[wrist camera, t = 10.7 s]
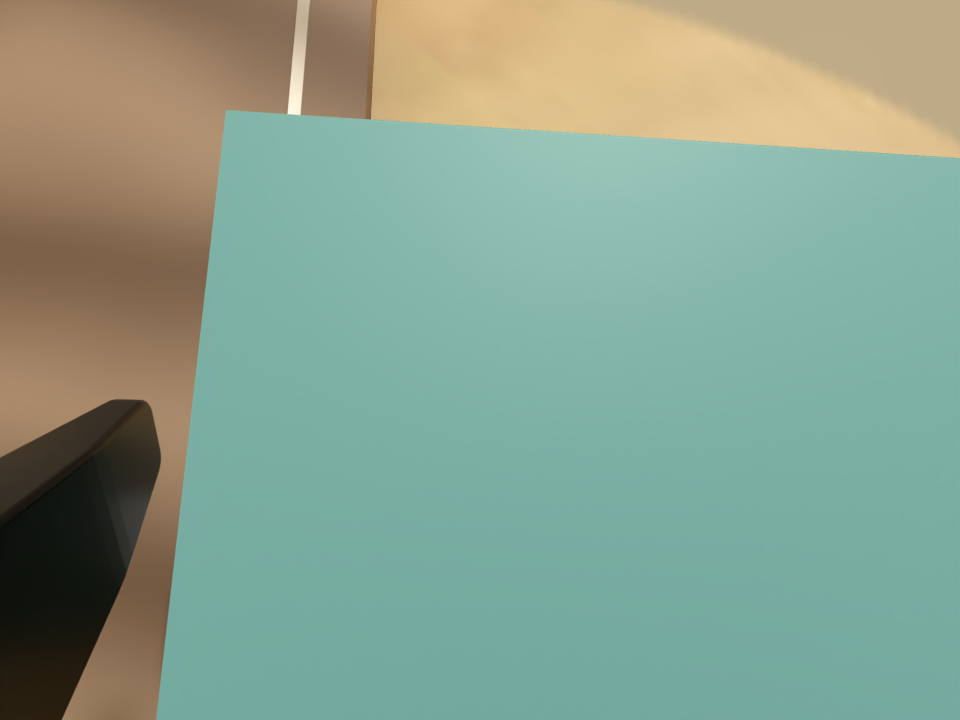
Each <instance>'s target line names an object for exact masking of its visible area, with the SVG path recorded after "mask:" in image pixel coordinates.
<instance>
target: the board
mask: <svg viewBox="0 0 960 720" xmlns="http://www.w3.org/2000/svg"><path fill="white" fill-rule="evenodd" d="M376 5H377V0H0V457H2V456H4V455H6V454H7V453H9V452H11V451H13V450H15V449H17V448H19V447H21V446H23V445H25V444H27V443H29V442H31V441H33V440H35V439H36V438H38V437H40V436H42V435H44V434H46V433H48V432H50V431H52V430H54V429H56V428H58V427H60V426H62V425H63V424H65V423H67V422H69V421H71V420H73V419H75V418H77V417H79V416H81V415H83V414H85V413H87V412H89V411H90V410H92V409H94V408H96V407H98V406H100V405H102V404H104V403H106V402H108V401H110V400H114V399H132V400H144V401H146V402H147V403H149V405H150V407H151V409H152V412H153V417H154V422H155V426H156V431H157V436H158V440H159V445H160V450H161V465H160V470H159V473H158V477H157V480H156V483H155V486H154V490H153V493H152V496H151V499H150V502H149V506H148V509H147V512H146V515H145V519H144V522H143V525H142V528H141V531H140V535H139V538H138V541H137V544H136V547H135V551H134V554H133V557H132V560H131V563H130V566H129V569H128V572H127V574H126V577H125V579H124V582H123V584H122V586H121V589H120V591H119V593H118V596H117V598H116V600H115V602H114V605H113V607H112V609H111V611H110V614H109V616H108V618H107V620H106V622H105V625H104V627H103V629H102V631H101V634H100V636H99V638H98V640H97V643H96V645H95V647H94V649H93V651H92V654H91V656H90V658H89V660H88V663H87V665H86V667H85V669H84V672H83V674H82V676H81V678H80V681H79V683H78V685H77V687H76V689H75V692H74V694H73V696H72V698H71V701H70V703H69V705H68V707H67V710H66V712H65V714H64V716H63V718H62V720H156V717H157V708H158V699H159V691H160V682H161V673H162V664H163V656H164V647H165V638H166V629H167V621H168V612H169V603H170V595H171V586H172V577H173V568H174V560H175V551H176V542H177V533H178V525H179V516H180V507H181V498H182V490H183V481H184V472H185V463H186V455H187V446H188V437H189V428H190V420H191V411H192V402H193V393H194V385H195V376H196V367H197V358H198V350H199V341H200V332H201V323H202V315H203V306H204V297H205V288H206V280H207V271H208V262H209V253H210V245H211V236H212V227H213V218H214V210H215V201H216V192H217V183H218V175H219V166H220V157H221V148H222V140H223V131H224V122H225V113H226V110H232V111H248V112H263V113H278V114H293V115H309V116H324V117H339V118H354V119H370V120H371V101H372V82H373V63H374V43H375V24H376Z"/></svg>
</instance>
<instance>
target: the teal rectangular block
mask: <svg viewBox="0 0 960 720" xmlns="http://www.w3.org/2000/svg"><path fill="white" fill-rule="evenodd" d="M156 720H960V158H949V157H934V156H918V155H903V154H888V153H873V152H857V151H842V150H827V149H812V148H796V147H781V146H766V145H751V144H735V143H720V142H705V141H690V140H674V139H659V138H644V137H629V136H614V135H598V134H583V133H568V132H553V131H537V130H522V129H507V128H492V127H476V126H461V125H446V124H431V123H415V122H400V121H385V120H370V119H354V118H339V117H324V116H309V115H293V114H278V113H263V112H248V111H232V110H226V113H225V122H224V131H223V140H222V148H221V157H220V166H219V175H218V183H217V192H216V201H215V210H214V218H213V227H212V236H211V245H210V253H209V262H208V271H207V280H206V288H205V297H204V306H203V315H202V323H201V332H200V341H199V350H198V358H197V367H196V376H195V385H194V393H193V402H192V411H191V420H190V428H189V437H188V446H187V455H186V463H185V472H184V481H183V490H182V498H181V507H180V516H179V525H178V533H177V542H176V551H175V560H174V568H173V577H172V586H171V595H170V603H169V612H168V621H167V629H166V638H165V647H164V656H163V664H162V673H161V682H160V691H159V699H158V708H157V717H156Z"/></svg>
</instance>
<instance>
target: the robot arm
mask: <svg viewBox="0 0 960 720" xmlns="http://www.w3.org/2000/svg"><path fill="white" fill-rule="evenodd" d="M160 465H161V450H160V445H159V440H158V436H157V431H156V426H155V422H154V417H153V412H152V409H151V407H150V405H149V403H147V402H146V401H144V400H132V399H114V400H110V401H108V402H106V403H104V404H102V405H100V406H98V407H96V408H94V409H92V410H90V411H89V412H87V413H85V414H83V415H81V416H79V417H77V418H75V419H73V420H71V421H69V422H67V423H65V424H63V425H62V426H60V427H58V428H56V429H54V430H52V431H50V432H48V433H46V434H44V435H42V436H40V437H38V438H36V439H35V440H33V441H31V442H29V443H27V444H25V445H23V446H21V447H19V448H17V449H15V450H13V451H11V452H9V453H7V454H6V455H4V456H2V457H0V720H62V718H63V716H64V714H65V712H66V710H67V707H68V705H69V703H70V701H71V698H72V696H73V694H74V692H75V689H76V687H77V685H78V683H79V681H80V678H81V676H82V674H83V672H84V669H85V667H86V665H87V663H88V660H89V658H90V656H91V654H92V651H93V649H94V647H95V645H96V643H97V640H98V638H99V636H100V634H101V631H102V629H103V627H104V625H105V622H106V620H107V618H108V616H109V614H110V611H111V609H112V607H113V605H114V602H115V600H116V598H117V596H118V593H119V591H120V589H121V586H122V584H123V582H124V579H125V577H126V574H127V572H128V569H129V566H130V563H131V560H132V557H133V554H134V551H135V547H136V544H137V541H138V538H139V535H140V531H141V528H142V525H143V522H144V519H145V515H146V512H147V509H148V506H149V502H150V499H151V496H152V493H153V490H154V486H155V483H156V480H157V477H158V473H159V470H160Z"/></svg>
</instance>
